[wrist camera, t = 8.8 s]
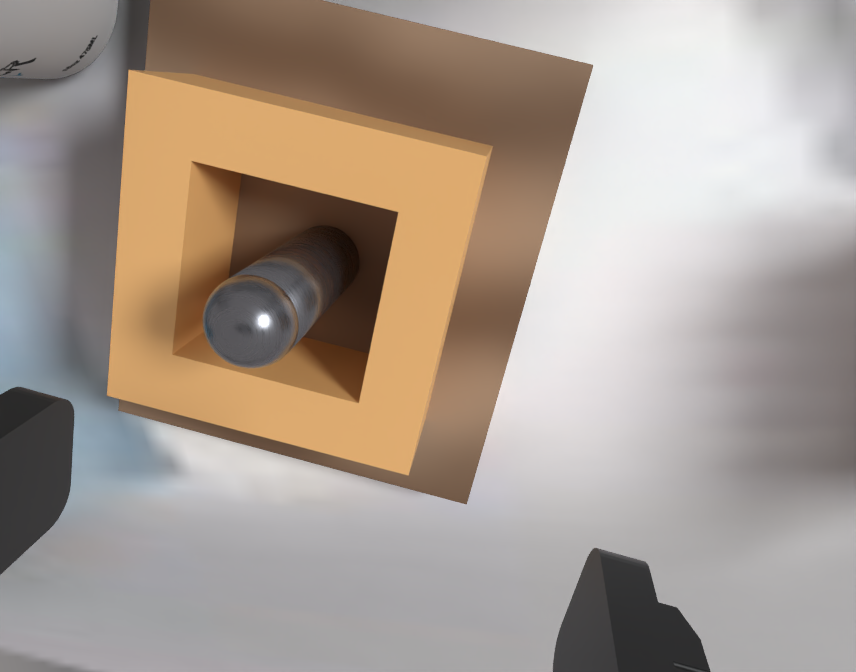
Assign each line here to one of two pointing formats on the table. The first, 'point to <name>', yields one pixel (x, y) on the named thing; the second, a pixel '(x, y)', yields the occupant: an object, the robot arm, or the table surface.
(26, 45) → the energy drink can
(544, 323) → the table surface
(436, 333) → the ring
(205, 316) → the stand
